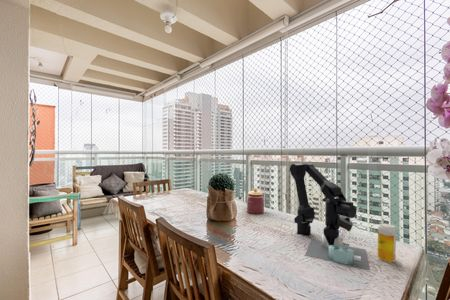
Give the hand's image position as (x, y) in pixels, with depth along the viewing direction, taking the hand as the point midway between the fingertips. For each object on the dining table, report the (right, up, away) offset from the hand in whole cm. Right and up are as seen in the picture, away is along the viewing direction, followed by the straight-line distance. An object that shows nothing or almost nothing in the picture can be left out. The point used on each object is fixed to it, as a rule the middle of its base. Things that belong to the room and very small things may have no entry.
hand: (332, 244), depth 106 cm
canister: (-29, -1, +59) cm, 66 cm away
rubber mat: (-1, -2, -6) cm, 6 cm away
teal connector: (-2, -1, -14) cm, 14 cm away
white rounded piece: (+1, -1, -1) cm, 2 cm away
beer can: (+17, -2, -12) cm, 21 cm away
